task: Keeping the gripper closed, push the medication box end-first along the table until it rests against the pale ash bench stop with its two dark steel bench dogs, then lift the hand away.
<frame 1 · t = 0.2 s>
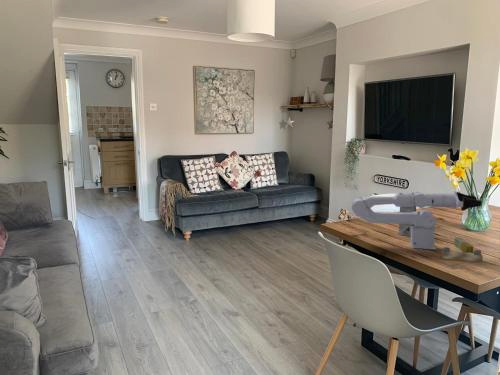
hand: (478, 201, 161), 21 cm above the table, tool horizontal, fingers open, 7 cm apart
medication box: (463, 251, 165), on the table
bench dogs: (461, 259, 154), resting on bench stop
bench stop: (461, 259, 154), on the table
coffee box: (406, 233, 191), on the table
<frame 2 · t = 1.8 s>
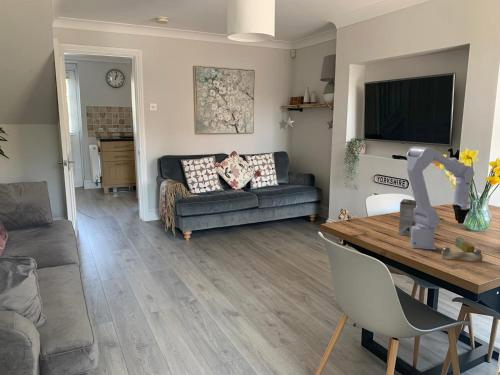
hand: (459, 222, 174), 9 cm above the table, tool pointing down, fingers open, 5 cm apart
nothing on the table moved.
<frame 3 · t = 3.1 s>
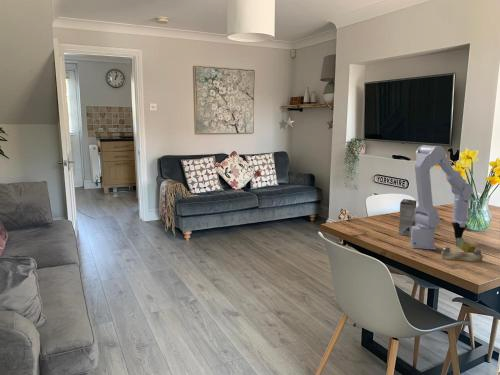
hand: (458, 238, 176), 2 cm above the table, tool pointing down, fingers closed
nothing on the table moved.
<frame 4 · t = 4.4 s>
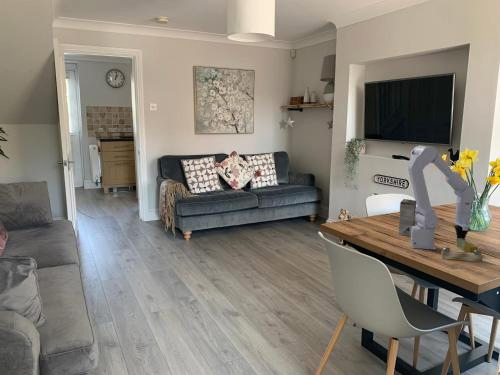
hand: (460, 242, 170), 2 cm above the table, tool pointing down, fingers closed
medication box: (466, 251, 164), on the table, touching gripper
everything else where it was.
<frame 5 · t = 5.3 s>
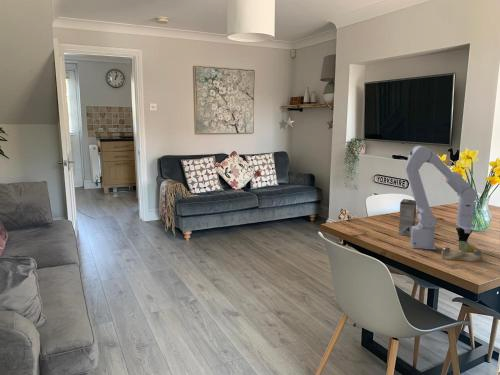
hand: (462, 245, 167), 2 cm above the table, tool pointing down, fingers closed
medication box: (468, 254, 160), on the table, touching bench stop, gripper
everything else where it was.
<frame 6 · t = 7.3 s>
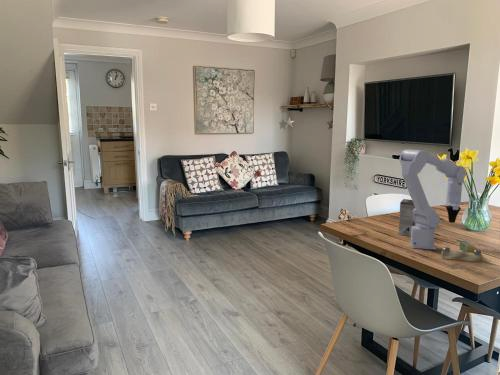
hand: (451, 222, 174), 9 cm above the table, tool pointing down, fingers closed
medication box: (469, 255, 160), on the table
everything else where it was.
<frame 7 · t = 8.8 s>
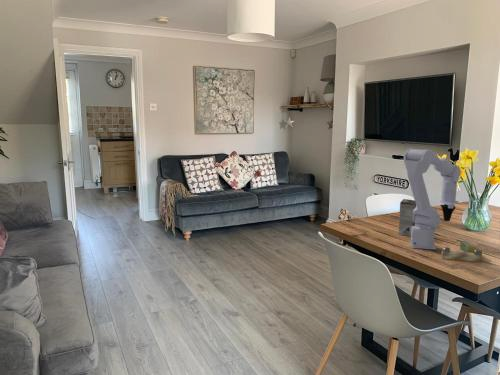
hand: (446, 220, 177), 9 cm above the table, tool pointing down, fingers closed
nothing on the table moved.
at the end: medication box 1.8 cm from the target spot, on the table; medication box moved 5.3 cm from its start; medication box tilted 0° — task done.
